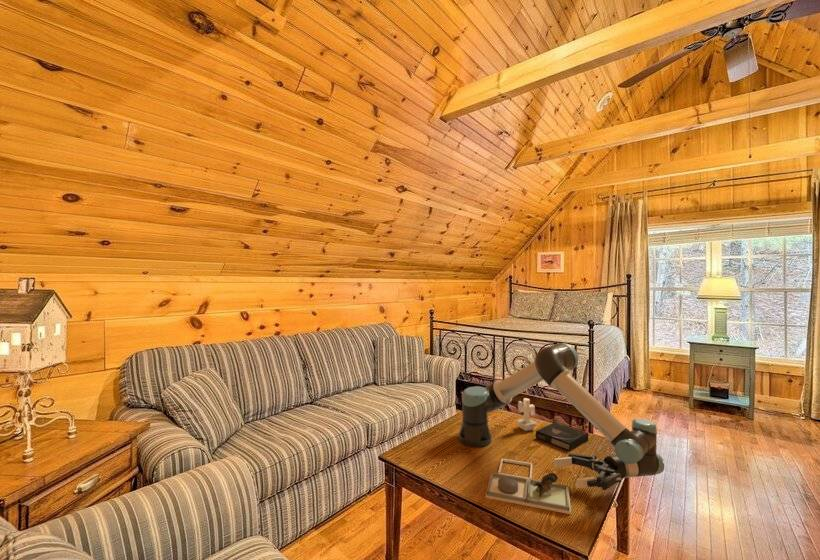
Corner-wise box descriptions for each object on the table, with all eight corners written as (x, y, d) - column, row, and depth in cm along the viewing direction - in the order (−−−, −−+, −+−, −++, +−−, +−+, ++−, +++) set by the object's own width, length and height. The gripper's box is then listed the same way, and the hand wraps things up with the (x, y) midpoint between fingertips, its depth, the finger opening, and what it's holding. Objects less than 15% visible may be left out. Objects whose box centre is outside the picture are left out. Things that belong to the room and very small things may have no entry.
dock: (485, 497, 133) (485, 489, 133) (490, 477, 145) (490, 470, 145) (570, 514, 124) (570, 505, 124) (568, 491, 136) (568, 483, 136)
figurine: (539, 429, 188) (539, 399, 187) (524, 433, 184) (524, 402, 184) (528, 424, 194) (528, 395, 194) (514, 427, 191) (514, 398, 190)
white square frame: (497, 475, 147) (497, 473, 147) (501, 460, 158) (501, 458, 158) (531, 481, 143) (531, 479, 143) (532, 465, 154) (532, 463, 154)
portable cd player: (535, 439, 178) (535, 431, 178) (555, 429, 189) (555, 421, 189) (568, 452, 166) (568, 443, 165) (588, 441, 176) (588, 432, 176)
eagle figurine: (556, 500, 127) (563, 482, 135) (543, 480, 128) (550, 464, 136) (537, 504, 132) (545, 487, 139) (525, 485, 133) (533, 469, 140)
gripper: (647, 497, 124) (588, 505, 120) (597, 459, 149) (546, 464, 145) (647, 474, 124) (588, 481, 120) (597, 440, 148) (546, 445, 145)
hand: (565, 472), depth 133 cm, fingers open, 13 cm apart
